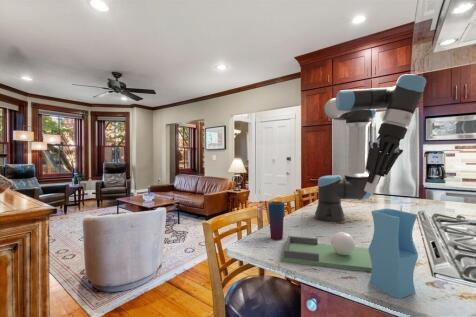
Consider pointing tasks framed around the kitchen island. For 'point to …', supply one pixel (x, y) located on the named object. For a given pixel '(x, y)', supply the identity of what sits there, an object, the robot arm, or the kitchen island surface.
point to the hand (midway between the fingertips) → (368, 192)
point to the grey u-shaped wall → (301, 254)
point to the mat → (332, 257)
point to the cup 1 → (276, 219)
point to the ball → (343, 243)
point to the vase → (393, 252)
